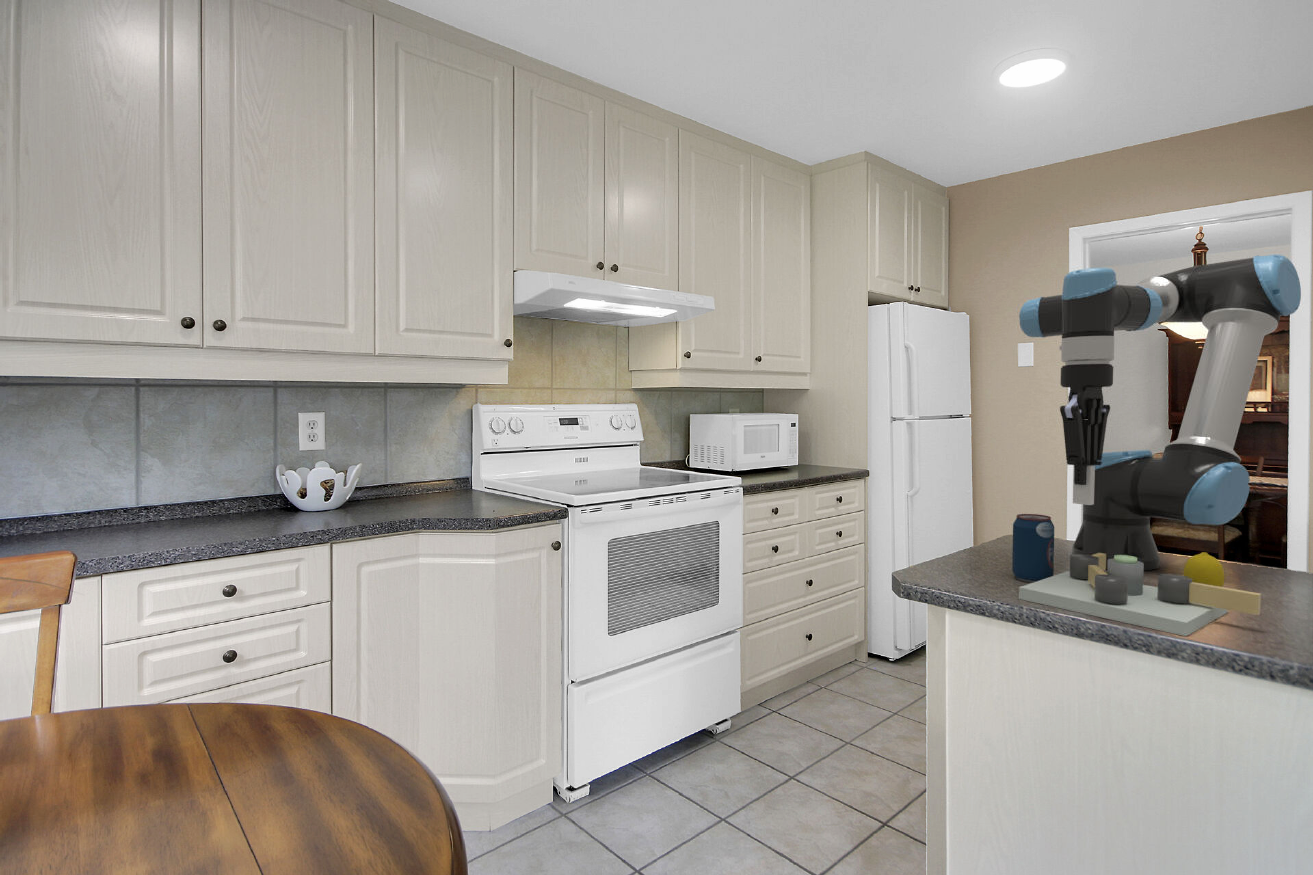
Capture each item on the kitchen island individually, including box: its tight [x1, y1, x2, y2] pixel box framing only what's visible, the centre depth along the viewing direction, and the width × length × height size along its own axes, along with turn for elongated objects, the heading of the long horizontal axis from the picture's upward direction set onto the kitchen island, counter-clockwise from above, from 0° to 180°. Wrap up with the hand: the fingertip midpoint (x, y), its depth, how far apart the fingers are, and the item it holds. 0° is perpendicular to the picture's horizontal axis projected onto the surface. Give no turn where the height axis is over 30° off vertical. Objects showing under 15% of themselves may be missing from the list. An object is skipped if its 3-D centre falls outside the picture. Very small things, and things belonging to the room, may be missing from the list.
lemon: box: [1182, 552, 1226, 587], centre depth 119 cm, size 6×6×8 cm
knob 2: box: [1157, 573, 1262, 616], centre depth 108 cm, size 13×4×4 cm, turn 36°
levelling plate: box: [1018, 555, 1229, 637], centre depth 116 cm, size 18×24×8 cm
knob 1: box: [1069, 553, 1107, 579], centre depth 128 cm, size 10×4×4 cm, turn 126°
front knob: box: [1088, 565, 1128, 604], centre depth 116 cm, size 13×4×4 cm, turn 162°
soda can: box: [1011, 513, 1055, 583], centre depth 133 cm, size 7×7×12 cm
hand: (1083, 503), depth 119 cm, fingers closed
